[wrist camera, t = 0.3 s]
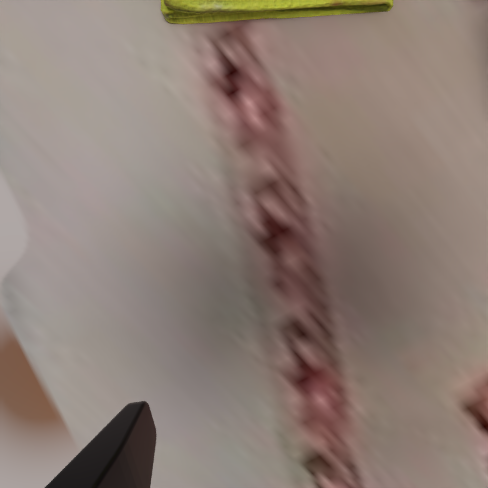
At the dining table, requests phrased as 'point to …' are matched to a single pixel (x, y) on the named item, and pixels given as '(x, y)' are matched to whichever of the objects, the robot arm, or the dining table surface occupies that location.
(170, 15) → the dish towel
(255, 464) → the dining table surface
